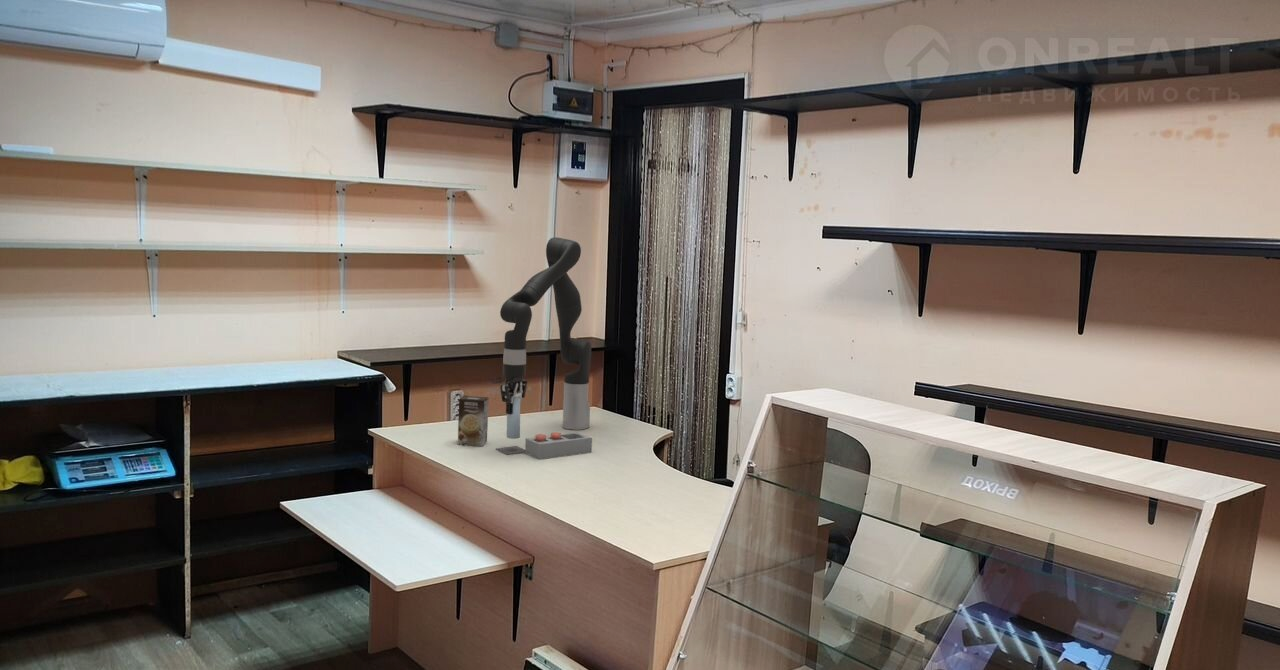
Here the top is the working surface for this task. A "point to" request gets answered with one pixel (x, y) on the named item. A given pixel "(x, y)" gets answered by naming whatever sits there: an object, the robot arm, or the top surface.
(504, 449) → the mat
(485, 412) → the coffee box
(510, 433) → the cartridge
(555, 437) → the plunger
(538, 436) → the plunger
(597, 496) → the top surface
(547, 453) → the housing
